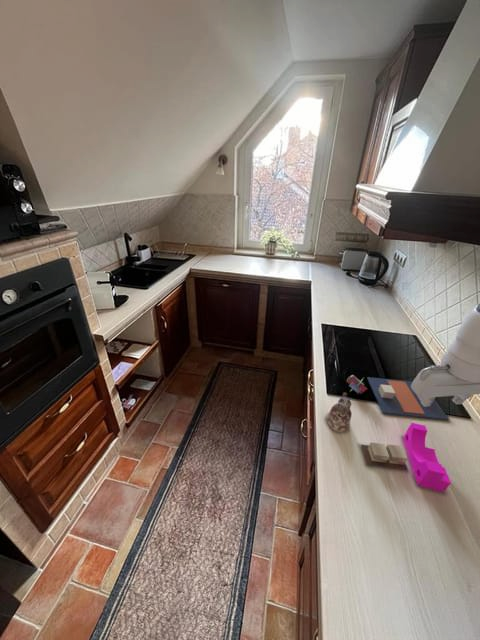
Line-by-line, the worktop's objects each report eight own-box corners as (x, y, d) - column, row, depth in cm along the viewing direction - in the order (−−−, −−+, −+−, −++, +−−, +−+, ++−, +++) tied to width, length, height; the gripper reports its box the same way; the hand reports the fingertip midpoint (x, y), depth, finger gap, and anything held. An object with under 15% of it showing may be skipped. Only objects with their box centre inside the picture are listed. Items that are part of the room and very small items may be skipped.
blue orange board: (422, 383, 104) (425, 376, 102) (448, 420, 88) (453, 413, 86) (366, 378, 106) (369, 371, 104) (382, 413, 90) (385, 406, 88)
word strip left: (397, 450, 78) (402, 443, 76) (406, 470, 73) (411, 462, 71) (360, 446, 79) (364, 438, 77) (367, 465, 74) (370, 457, 72)
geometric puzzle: (373, 388, 98) (364, 370, 97) (367, 399, 93) (358, 379, 93) (355, 389, 103) (347, 372, 102) (348, 399, 98) (340, 380, 98)
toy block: (443, 492, 68) (456, 476, 64) (417, 485, 70) (428, 469, 66) (424, 442, 81) (434, 427, 77) (403, 437, 82) (411, 422, 78)
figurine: (325, 426, 85) (332, 401, 79) (328, 411, 91) (335, 386, 84) (347, 435, 82) (357, 409, 76) (349, 418, 88) (358, 394, 82)
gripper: (435, 375, 58) (413, 415, 65) (514, 371, 60) (484, 410, 67) (416, 358, 64) (397, 396, 71) (489, 354, 66) (464, 392, 73)
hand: (440, 403), depth 69 cm, fingers open, 8 cm apart
